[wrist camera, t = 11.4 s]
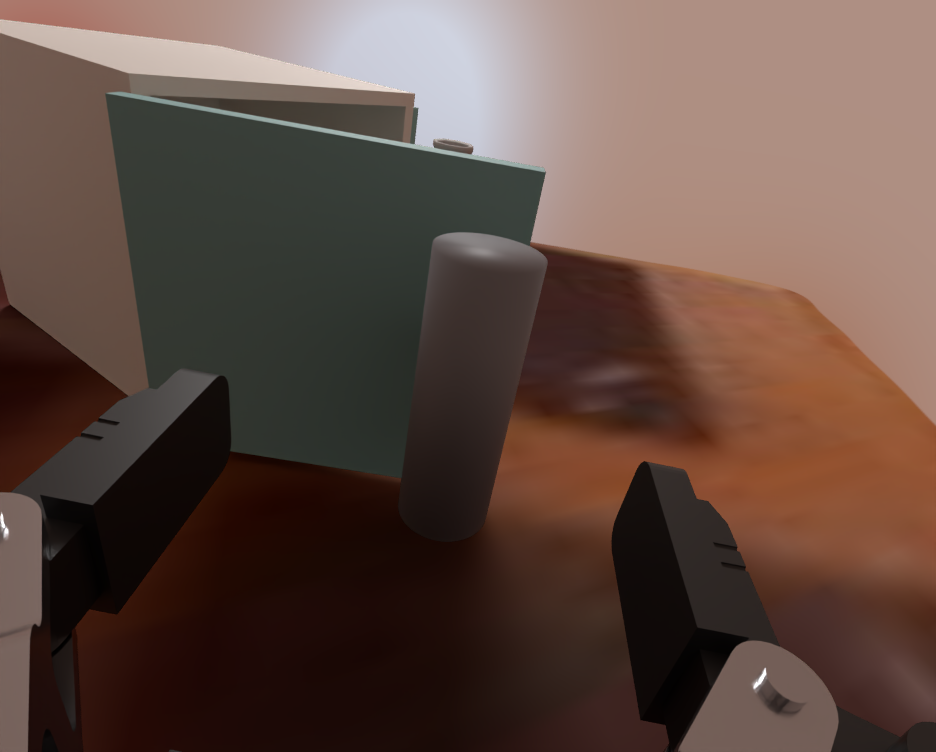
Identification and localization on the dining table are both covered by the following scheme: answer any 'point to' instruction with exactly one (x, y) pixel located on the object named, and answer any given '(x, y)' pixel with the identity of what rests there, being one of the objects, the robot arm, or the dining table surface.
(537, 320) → the dining table surface
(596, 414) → the dining table surface
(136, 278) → the flap
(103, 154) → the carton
